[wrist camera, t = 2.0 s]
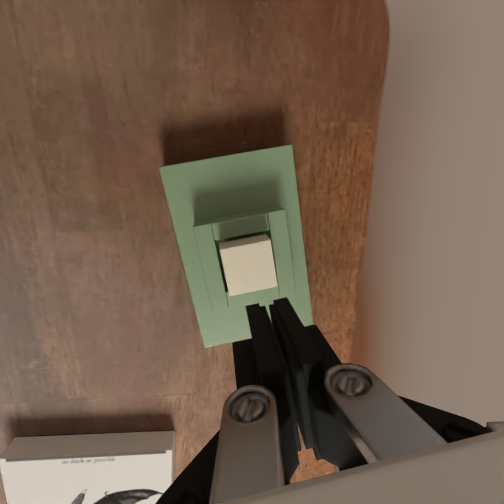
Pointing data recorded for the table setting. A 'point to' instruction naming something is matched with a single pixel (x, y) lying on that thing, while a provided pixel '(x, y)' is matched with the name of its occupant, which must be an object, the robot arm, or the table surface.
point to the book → (89, 468)
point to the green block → (237, 233)
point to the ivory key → (248, 264)
